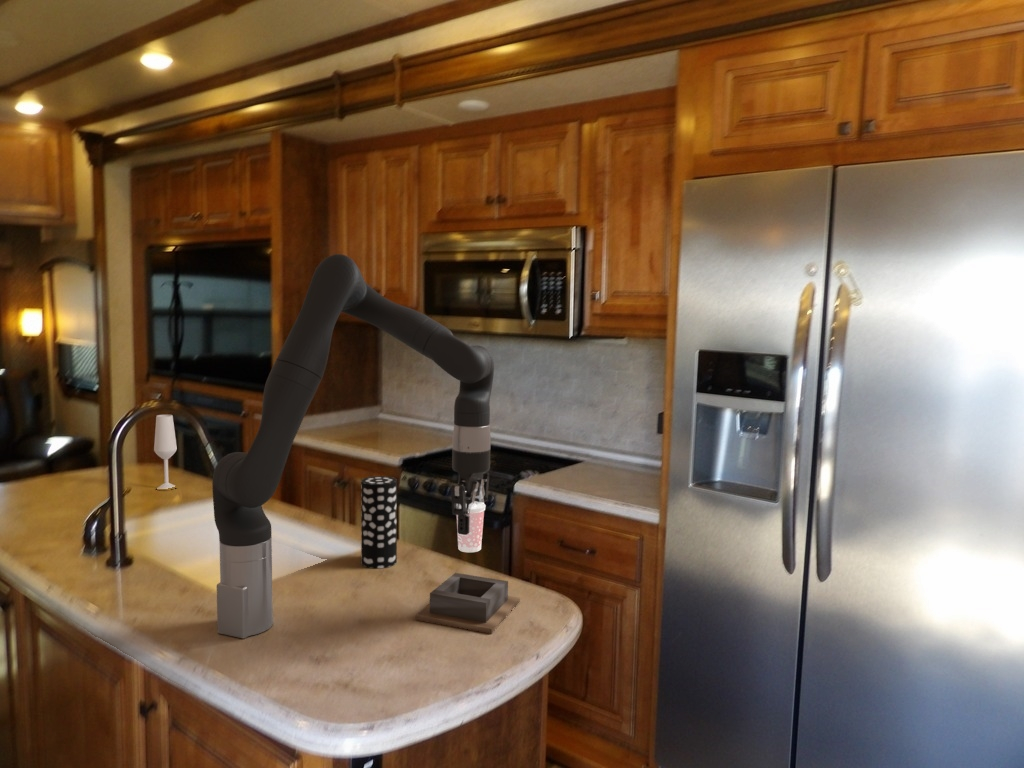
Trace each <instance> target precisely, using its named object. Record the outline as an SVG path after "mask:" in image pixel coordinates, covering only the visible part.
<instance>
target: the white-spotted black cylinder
mask: <svg viewBox="0 0 1024 768" xmlns="http://www.w3.org/2000/svg"><path fill="white" fill-rule="evenodd" d="M360 493H361V494H360V496H361V497H360V500H361V501H360V505H361V506H360V510H361V511H360V516H361V517H360V519H361V520H360V523H361V524H360V526H361V529H360V531H361V533H360V534H361V535H360V536H361V539H360V540H361V541H360V545H361V547H360V548H361V552H360V553H361V554H360V555H361V556H360V558H361V559H360V560H361V565H362V566H363V567H366V568H369V569H385V568H389V567H392V566H394V565H396V564H397V559H398V557H397V555H398V554H397V550H398V549H397V548H398V546H397V544H398V543H397V541H398V540H397V539H398V538H397V537H398V528H397V527H398V526H397V524H398V519H397V518H398V516H397V514H398V511H397V510H398V506H397V505H398V479H397V478H396V477H393V476H392V477H391V476H384V475H383V476H381V475H380V476H379V475H378V476H367V477H364V478H362V479H361V480H360Z"/></svg>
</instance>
